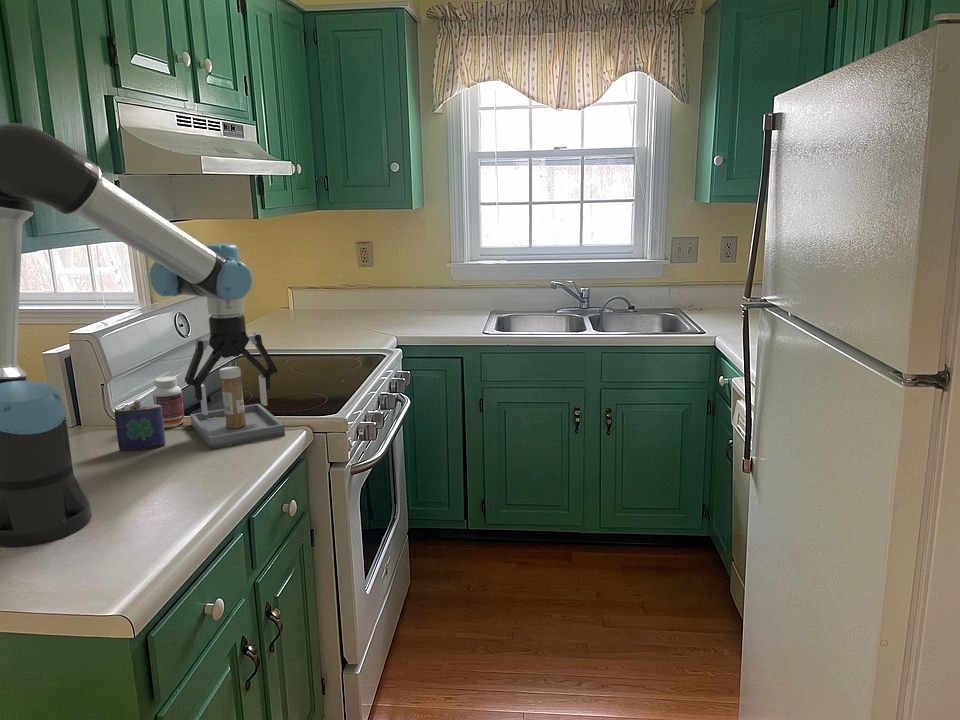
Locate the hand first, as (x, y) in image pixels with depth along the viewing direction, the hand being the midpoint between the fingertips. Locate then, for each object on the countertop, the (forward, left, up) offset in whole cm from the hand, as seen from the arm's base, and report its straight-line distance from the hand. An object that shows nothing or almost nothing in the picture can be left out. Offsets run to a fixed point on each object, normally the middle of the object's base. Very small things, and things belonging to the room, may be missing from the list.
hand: (235, 408), depth 171 cm
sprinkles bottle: (0, 0, -4) cm, 4 cm away
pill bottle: (-12, +13, -5) cm, 18 cm away
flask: (-20, -1, -5) cm, 21 cm away
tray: (0, 0, -5) cm, 5 cm away
